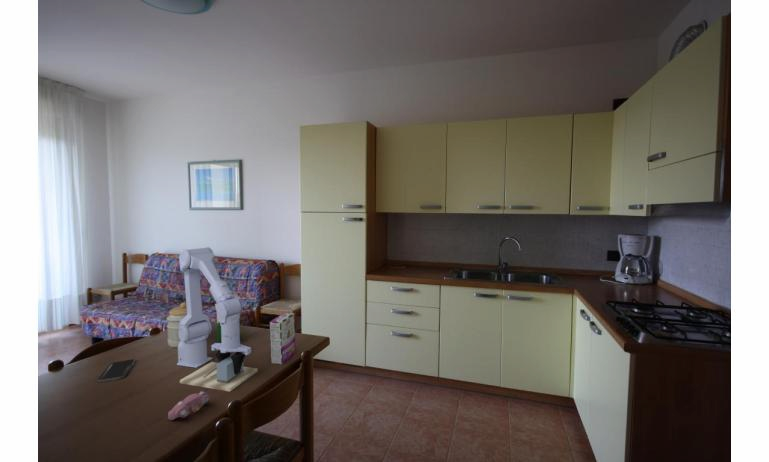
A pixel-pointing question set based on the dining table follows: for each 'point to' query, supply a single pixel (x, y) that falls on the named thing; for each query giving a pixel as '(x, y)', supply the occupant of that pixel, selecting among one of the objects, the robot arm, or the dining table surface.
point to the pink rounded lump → (188, 405)
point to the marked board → (215, 378)
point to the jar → (175, 324)
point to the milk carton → (220, 327)
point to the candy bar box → (282, 338)
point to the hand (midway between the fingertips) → (231, 372)
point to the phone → (116, 370)
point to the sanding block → (226, 370)
